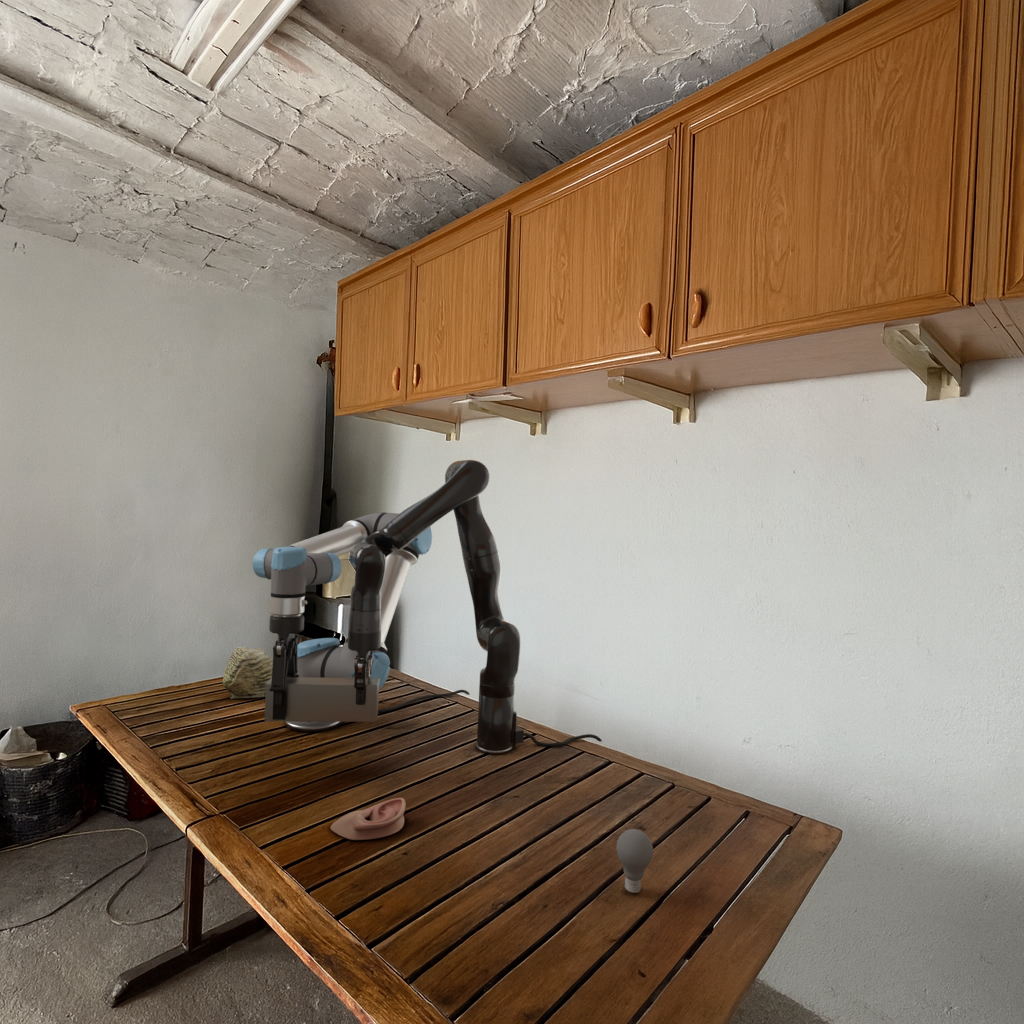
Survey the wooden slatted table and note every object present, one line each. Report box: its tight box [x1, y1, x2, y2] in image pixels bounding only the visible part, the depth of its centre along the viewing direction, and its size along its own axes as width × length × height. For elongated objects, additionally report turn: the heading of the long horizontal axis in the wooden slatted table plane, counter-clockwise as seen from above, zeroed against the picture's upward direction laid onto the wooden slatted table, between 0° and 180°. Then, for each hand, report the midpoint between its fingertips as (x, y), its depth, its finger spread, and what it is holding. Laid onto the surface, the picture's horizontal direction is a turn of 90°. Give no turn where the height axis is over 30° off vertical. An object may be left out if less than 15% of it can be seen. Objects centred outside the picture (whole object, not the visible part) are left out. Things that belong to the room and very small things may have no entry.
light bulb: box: [615, 828, 654, 894], centre depth 106 cm, size 6×6×10 cm
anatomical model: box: [330, 797, 407, 841], centre depth 123 cm, size 13×4×12 cm
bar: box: [264, 677, 380, 723], centre depth 147 cm, size 25×5×9 cm, turn 96°
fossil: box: [222, 646, 273, 699], centre depth 198 cm, size 9×18×15 cm, turn 132°
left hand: (283, 712), depth 146 cm, fingers open, 7 cm apart
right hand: (362, 700), depth 148 cm, fingers closed on bar, 5 cm apart
